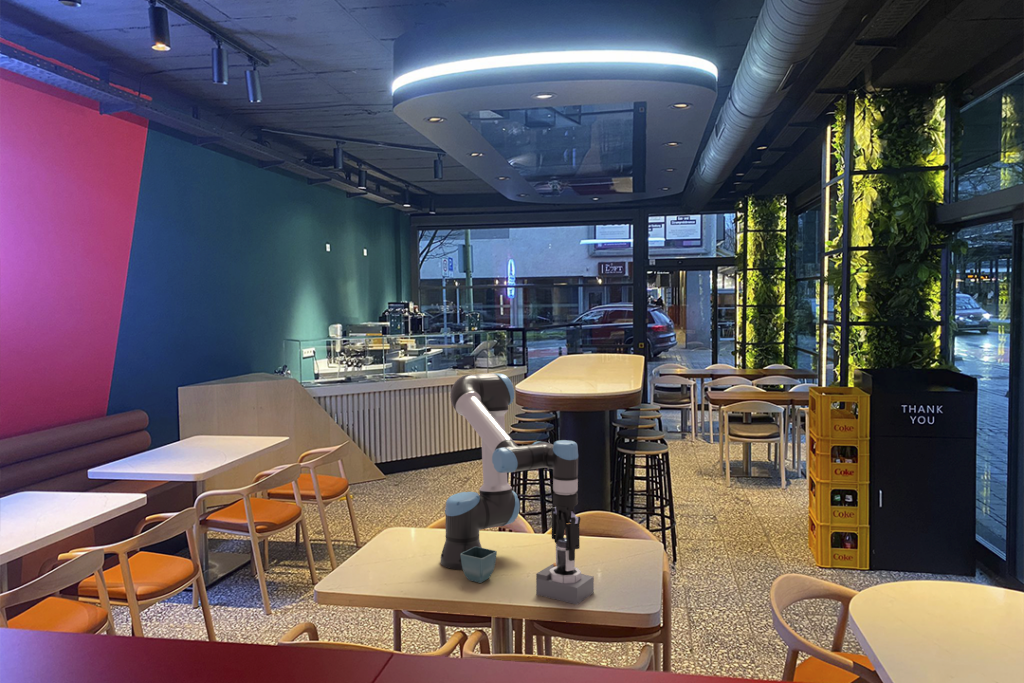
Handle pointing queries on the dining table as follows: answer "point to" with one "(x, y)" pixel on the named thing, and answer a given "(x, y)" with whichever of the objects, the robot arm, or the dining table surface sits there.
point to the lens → (562, 557)
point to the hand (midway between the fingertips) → (565, 567)
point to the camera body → (564, 585)
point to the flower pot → (478, 563)
